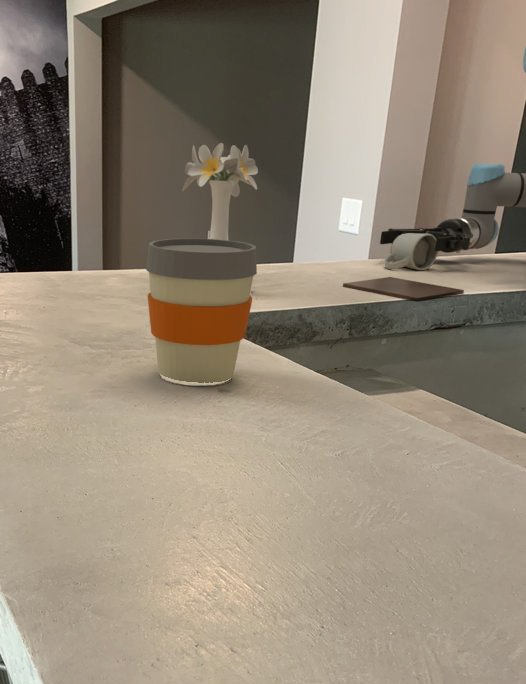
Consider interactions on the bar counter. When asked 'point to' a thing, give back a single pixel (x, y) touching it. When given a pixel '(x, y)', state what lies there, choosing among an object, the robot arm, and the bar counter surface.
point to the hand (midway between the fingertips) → (408, 241)
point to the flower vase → (221, 180)
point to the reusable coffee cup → (199, 305)
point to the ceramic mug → (412, 252)
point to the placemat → (403, 288)
